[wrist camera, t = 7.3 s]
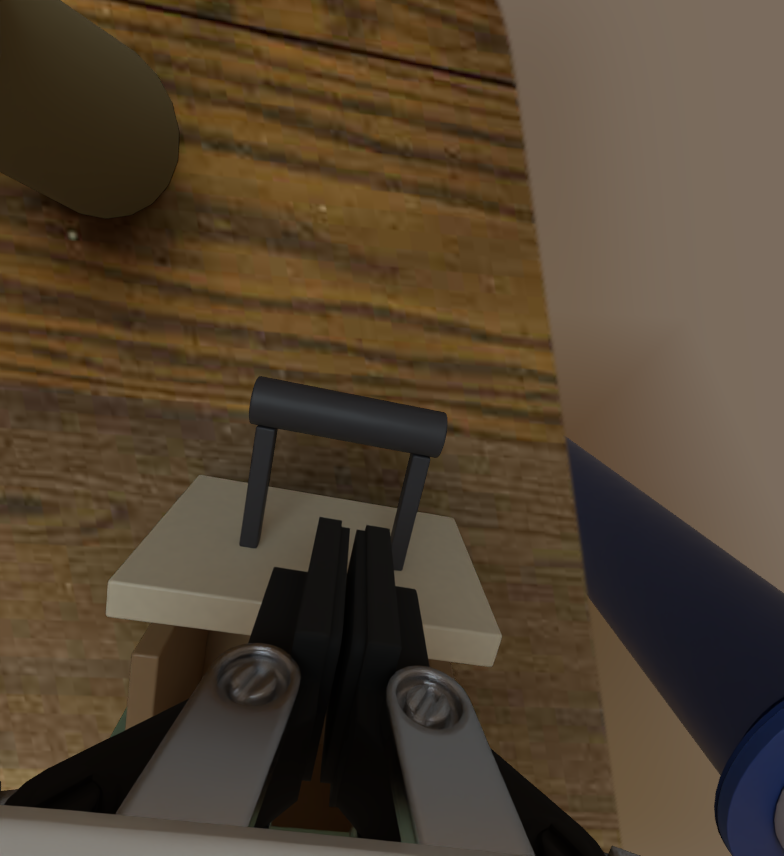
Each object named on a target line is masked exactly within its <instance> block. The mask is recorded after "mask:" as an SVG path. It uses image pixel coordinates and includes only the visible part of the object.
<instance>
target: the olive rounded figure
mask: <svg viewBox="0 0 784 856" xmlns="http://www.w3.org/2000/svg"><path fill="white" fill-rule="evenodd" d="M178 146H179V129H178V125H177V121H176V117H175V112H174V108H173V104H172V102H171V100H170V98H169V96H168V94H167V92H166V91H165V89H164V87H163V85H162V83H161V81H160V79H159V78H158V76H157V75H156V73H155V72H154V71H153V70H152V69H151V68H150V67H149V66H148V65H147V64H146V63H145V62H144V61H143V60H142V59H141V58H140V56H139V55H138V54H137V53H136V52H134V51H133V50H131V49H130V48H129V47H127V46H126V45H124V44H123V43H121V42H120V41H118V40H117V39H116V38H114V37H113V36H111V35H110V34H108V33H107V32H105V31H104V30H102V29H101V28H100V27H98V26H97V25H95V24H94V23H92V22H91V21H89V20H88V19H87V18H85V17H84V16H82V15H81V14H79V13H78V12H76V11H75V10H73V9H72V8H71V7H69V6H68V5H66V4H65V3H63V2H62V1H60V0H0V172H1V173H3V174H5V175H7V176H9V177H11V178H13V179H15V180H17V181H19V182H20V183H22V184H24V185H26V186H28V187H30V188H32V189H34V190H36V191H38V192H40V193H42V194H43V195H45V196H47V197H49V198H51V199H53V200H55V201H57V202H59V203H61V204H63V205H65V206H67V207H68V208H70V209H72V210H74V211H76V212H78V213H80V214H85V215H90V216H95V217H101V218H106V219H107V218H114V217H121V216H128V215H132V214H134V213H136V212H138V211H140V210H142V209H143V208H145V207H147V206H149V205H151V204H153V202H154V201H155V200H156V199H157V198H158V197H159V195H160V194H161V193H162V192H163V191H164V190H165V188H166V187H167V186H168V185H169V182H170V180H171V177H172V174H173V172H174V169H175V166H176V164H177V161H178Z"/></svg>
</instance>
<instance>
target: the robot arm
mask: <svg viewBox="0 0 784 856" xmlns="http://www.w3.org/2000/svg"><path fill="white" fill-rule="evenodd" d="M349 536H350V528H346V527H342V520H336V519H330V518H324V517H319V521H318V526H317V531H316V536H315V540H314V545H313V550H312V555H311V559H310V564H309V569H308V572H305V571H299V570H292V569H286V568H280V567H274V568H273V571H272V574H271V577H270V580H269V583H268V585H267V588H266V591H265V594H264V597H263V600H262V603H261V606H260V609H259V612H258V615H257V618H256V621H255V624H254V627H253V630H252V633H251V636H250V639H249V642H248V644H242V645H239V646H235V647H232V648H230V649H228V650H227V651H225V652H223V653H222V654H220V655H219V656H218V657H217V658H216V659H215V661H214V662H213V663H212V664H211V665H210V667H209V668H208V670H207V672H206V673H205V675H204V676H203V678H202V679H201V681H200V682H199V684H198V686H197V687H196V689H195V690H194V692H193V693H192V695H191V696H190V698H189V699H187V700H185V701H183V702H181V703H179V704H177V705H175V706H173V707H171V708H169V709H167V710H165V711H163V712H161V713H159V714H157V715H155V716H153V717H151V718H149V719H147V720H145V721H143V722H141V723H139V724H137V725H135V726H133V727H131V728H129V729H127V730H125V731H123V732H121V733H119V734H117V735H114V736H112V737H110V738H108V739H106V740H104V741H102V742H100V743H98V744H96V745H94V746H92V747H90V748H88V749H86V750H84V751H82V752H80V753H78V754H76V755H74V756H72V757H70V758H68V759H66V760H64V761H62V762H60V763H58V764H56V765H54V766H52V767H50V768H48V769H46V770H45V771H43V772H41V773H40V774H38V775H37V776H35V777H33V778H32V779H30V780H29V781H27V782H26V783H25V784H23V785H22V786H21V787H20V788H19V789H15V790H7V791H1V781H0V856H640V855H637V854H634V853H631V852H628V851H626V850H623V849H620V848H617V847H614V846H612V847H611V849H610V851H609V853H605V852H603V851H602V849H601V848H600V846H599V845H598V843H597V842H596V841H595V840H594V839H593V838H592V837H591V836H590V835H589V834H588V833H587V832H586V831H585V830H584V828H583V827H581V826H580V825H579V824H578V823H577V822H576V821H574V820H573V819H572V818H571V817H570V816H569V815H567V814H566V813H565V812H564V811H563V810H562V809H560V808H559V807H558V806H557V805H556V804H555V803H553V802H552V801H551V800H550V799H549V798H548V797H547V796H545V795H544V794H543V793H542V792H541V791H540V790H538V789H537V788H536V787H535V786H534V785H533V784H531V783H530V782H529V781H528V780H527V779H526V778H524V777H523V776H522V775H521V774H520V773H519V772H517V771H516V770H515V769H514V768H513V767H512V766H511V765H509V764H508V763H507V762H506V761H505V760H504V759H502V758H501V757H500V756H499V755H498V754H497V753H495V752H494V751H493V750H492V749H491V748H490V747H489V744H488V742H487V739H486V737H485V735H484V732H483V730H482V728H481V725H480V723H479V720H478V718H477V716H476V713H475V711H474V708H473V706H472V704H471V701H470V699H469V697H468V696H467V694H466V692H465V691H464V689H463V688H462V687H461V686H460V685H459V684H458V683H457V682H456V681H455V680H454V679H453V678H451V677H450V676H448V675H447V674H445V673H444V672H442V671H439V670H436V669H434V668H431V667H430V666H429V660H428V654H427V648H426V642H425V636H424V630H423V624H422V618H421V613H420V607H419V601H418V595H417V591H416V590H415V589H412V588H405V587H399V586H395V576H394V566H393V556H392V546H391V536H390V529H388V528H383V527H377V526H371V525H367V526H366V528H365V531H364V530H358V529H357V531H356V534H355V539H354V544H353V548H352V553H351V557H350V562H349V567H348V571H347V565H348V551H349ZM325 716H326V721H325V731H324V742H323V752H322V763H321V773H320V783H329V784H330V798H329V807H338V808H339V809H340V811H341V812H342V813H343V814H344V816H345V817H346V818H347V819H348V821H349V822H350V823H351V827H350V831H349V837H343V836H333V835H323V834H313V833H303V832H293V831H283V830H273V829H271V824H272V821H273V820H274V819H275V818H277V817H278V816H279V815H280V814H282V813H283V812H284V811H285V810H287V809H288V808H289V807H290V806H292V805H293V804H294V803H295V802H297V801H298V796H299V792H300V787H301V782H302V781H311V778H312V774H313V769H314V765H315V760H316V756H317V752H318V747H319V743H320V738H321V734H322V729H323V725H324V720H325ZM774 822H775V832H776V835H777V837H778V840H779V842H780V844H781V846H782V847H783V848H784V788H783V789H782V792H781V794H780V797H779V799H778V802H777V805H776V812H775V818H774Z"/></svg>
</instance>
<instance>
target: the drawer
mask: <svg viewBox="0 0 784 856" xmlns="http://www.w3.org/2000/svg"><path fill="white" fill-rule="evenodd" d="M249 420H250V423H251V424H256V425H258V426H257V427H256V433H255V439H254V446H253V453H252V460H251V467H250V474H249V480H248V483H245V482H239V481H234V480H228V479H222V478H216V477H210V476H204V475H199V476H198V477H197V478H196V479H195V480H194V482H193V483H192V484H191V485H190V486H189V487H188V489H187V490H186V491H185V492H184V493H183V494H182V496H181V497H180V498H179V499H178V500H177V501H176V503H175V504H174V505H173V506H172V507H171V508H170V510H169V511H168V512H167V513H166V514H165V515H164V517H163V518H162V519H161V520H160V521H159V522H158V524H157V525H156V526H155V527H154V528H153V529H152V531H151V532H150V533H149V534H148V535H147V536H146V538H145V539H144V540H143V541H142V542H141V543H140V545H139V546H138V547H137V548H136V549H135V550H134V552H133V553H132V554H131V555H130V556H129V558H128V559H127V560H126V561H125V562H124V563H123V565H122V566H121V567H120V568H119V569H118V570H117V572H116V573H115V574H114V575H113V576H112V577H111V579H110V580H109V581H108V590H107V606H106V616H108V617H113V618H121V619H129V620H136V621H144V622H151V624H150V625H149V627H148V629H147V630H146V632H145V634H144V635H143V637H142V638H141V640H140V642H139V643H138V645H137V646H136V648H135V650H134V651H133V653H132V656H131V668H130V679H129V691H128V703H127V715H126V727H125V730H127V729H129V728H131V727H133V726H135V725H137V724H139V723H141V722H143V721H145V720H147V719H149V718H151V717H153V716H155V715H157V714H159V713H161V712H163V711H165V710H167V709H169V708H171V707H173V706H175V705H177V704H179V703H181V702H183V701H185V700H187V699H189V698H190V696H191V695H192V693H193V692H194V690H195V689H196V687H197V686H198V684H199V682H200V681H201V679H202V678H203V676H204V675H205V673H206V672H207V670H208V668H209V667H210V665H211V664H212V663H213V662H214V661H215V659H216V658H217V657H218V656H219V655H220V654H222V653H223V652H225V651H227V650H228V649H230V648H232V647H235V646H239V645H242V644H248V642H249V639H250V636H251V633H252V630H253V627H254V624H255V621H256V618H257V615H258V612H259V609H260V606H261V603H262V600H263V597H264V594H265V591H266V588H267V585H268V583H269V580H270V577H271V574H272V571H273V568H274V567H280V568H286V569H292V570H299V571H305V572H308V569H309V564H310V559H311V555H312V550H313V545H314V540H315V536H316V531H317V526H318V521H319V517H324V518H330V519H336V520H342V527H346V528H350V536H349V551H348V565H347V571H348V567H349V562H350V557H351V553H352V548H353V544H354V539H355V534H356V531H357V529H358V530H364V531H365V528H366V526H367V525H371V526H377V527H383V528H388V529H390V536H391V546H392V556H393V566H394V576H395V586H399V587H405V588H412V589H415V590H416V591H417V595H418V601H419V607H420V613H421V618H422V624H423V630H424V636H425V642H426V648H427V654H428V660H429V666H430V667H431V668H434V669H436V670H439V671H442V672H444V673H445V674H447V675H448V676H450V677H451V678H453V679H454V675H453V671H452V667H451V663H450V662H456V663H463V664H471V665H478V666H486V667H492V666H493V663H494V660H495V657H496V654H497V651H498V648H499V645H500V642H501V639H502V635H501V632H500V630H499V627H498V625H497V623H496V620H495V618H494V615H493V613H492V610H491V608H490V605H489V603H488V601H487V598H486V596H485V593H484V591H483V588H482V586H481V584H480V581H479V579H478V576H477V574H476V571H475V569H474V566H473V564H472V562H471V559H470V557H469V554H468V552H467V549H466V547H465V545H464V542H463V540H462V537H461V535H460V532H459V530H458V527H457V525H456V523H455V520H454V518H451V517H445V516H440V515H434V514H428V513H422V512H417V510H418V506H419V502H420V499H421V495H422V491H423V487H424V483H425V479H426V475H427V471H428V467H429V463H430V457H434V458H436V457H438V456H439V455H440V453H441V451H442V449H443V446H444V442H445V438H446V433H447V415H446V413H444V412H439V411H434V410H429V409H424V408H419V407H414V406H409V405H404V404H399V403H394V402H389V401H384V400H379V399H374V398H369V397H363V396H358V395H353V394H348V393H343V392H338V391H333V390H328V389H323V388H318V387H313V386H308V385H303V384H298V383H293V382H288V381H282V380H277V379H272V378H267V377H262V376H259V377H258V378H257V380H256V382H255V385H254V388H253V392H252V396H251V401H250V408H249ZM278 429H283V430H288V431H294V432H299V433H305V434H310V435H315V436H321V437H326V438H332V439H337V440H342V441H348V442H353V443H359V444H364V445H369V446H375V447H380V448H386V449H391V450H396V451H402V452H407V453H410V457H409V461H408V466H407V470H406V474H405V478H404V482H403V487H402V491H401V495H400V499H399V503H398V507H397V508H392V507H387V506H381V505H375V504H369V503H363V502H357V501H351V500H345V499H339V498H334V497H328V496H322V495H316V494H310V493H304V492H298V491H292V490H287V489H281V488H275V487H269V481H270V474H271V468H272V462H273V455H274V449H275V443H276V437H277V430H278ZM454 680H455V679H454ZM325 721H326V716H325V720H324V725H323V729H322V734H321V738H320V743H319V747H318V752H317V756H316V760H315V765H314V769H313V774H312V778H311V781H302V782H301V787H300V792H299V796H298V801H297V802H295V803H294V804H293V805H292V806H290V807H289V808H288V809H287V810H285V811H284V812H283V813H282V814H280V815H279V816H278V817H277V818H275V819H274V820H273V821H272V824H271V826H279V827H291V828H303V829H315V830H327V831H339V832H349V831H350V827H351V823H350V822H349V821H348V819H347V818H346V817H345V816H344V814H343V813H342V812H341V811H340V809H339V808H338V807H329V798H330V784H329V783H320V773H321V763H322V752H323V742H324V731H325Z"/></svg>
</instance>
